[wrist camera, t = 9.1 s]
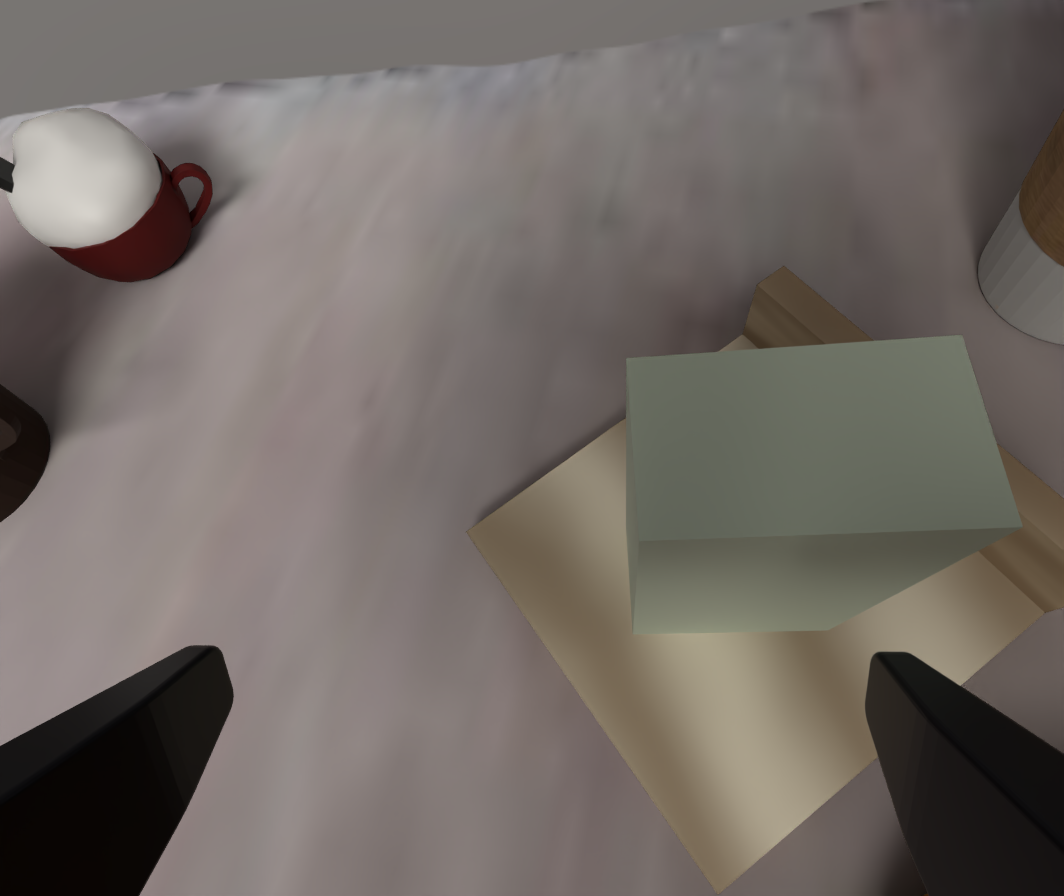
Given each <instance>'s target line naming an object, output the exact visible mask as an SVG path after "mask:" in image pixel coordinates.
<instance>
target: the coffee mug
mask: <svg viewBox="0 0 1064 896" xmlns="http://www.w3.org/2000/svg"><path fill="white" fill-rule="evenodd" d="M49 450H50V435H49V431H48V428H47V424H46V423H45V421H44V419H43V418H42V416H41V415H40V414H39V413H38V412H36V411H35V410H34V409H33V408H32V407H30V406H29V405H28V404H26V403H25V402H24V401H22V400H21V399H19V398H18V397H17V396H15V395H14V394H13V393H11V392H10V391H9V390H7V389H6V388H5V387H3V386H2V385H1V384H0V522H1V521H2V520H4V519H5V518H6V517H8V516H9V515H10V514H12V513H13V512H14V511H15V510H16V509H17V508H18V507H19V506H20V505H21V504H22V503H23V502H24V501H25V500H26V499H27V497H28V496H29V495H30V493H31V492H32V491H33V489H34V488H35V486H36V485H37V483H38V481H39V479H40V478H41V476H42V474H43V471H44V469H45V466H46V463H47V461H48V455H49Z"/></svg>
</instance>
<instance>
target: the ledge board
mask: <svg viewBox="0 0 1064 896" xmlns="http://www.w3.org/2000/svg"><path fill="white" fill-rule="evenodd" d="M866 341H874V340H872V339H871V338H870V337H869V336H868V335H866V334H865V333H864V332H863V331H862V330H860V329H859V328H858V327H857V326H856V325H854V324H853V323H852V322H851V321H850V320H848V319H847V318H846V317H845V316H844V315H842V314H841V313H840V312H839V311H838V310H836V309H835V308H834V307H833V306H832V305H830V304H829V303H828V302H827V301H826V300H824V299H823V298H822V297H821V296H820V295H818V294H817V293H816V292H815V291H814V290H812V289H811V288H810V287H809V286H808V285H806V284H805V283H804V282H803V281H802V280H800V279H799V278H798V277H797V276H796V275H794V274H793V273H792V272H791V271H790V270H788V269H787V268H786V267H785V266H783V267H781V268H780V269H778V270H777V271H776V272H774V273H773V274H771V275H770V276H769V277H767V278H766V279H764V280H763V281H761V282H760V283H759V284H757V287H756V290H755V293H754V297H753V300H752V304H751V307H750V311H749V314H748V317H747V321H746V324H745V328H744V331H743V334H742V335H741V336H739V337H738V338H736V339H735V340H734V341H732V342H731V343H729V344H728V345H727V346H725V347H724V348H722V349H721V350H720V351H718V352H722V351H736V350H751V349H765V348H779V347H794V346H808V345H823V344H837V343H851V342H866ZM996 444H997V443H996ZM997 447H998V450H999V453H1000V456H1001V459H1002V462H1003V466H1004V469H1005V472H1006V475H1007V478H1008V481H1009V485H1010V488H1011V491H1012V494H1013V497H1014V500H1015V503H1016V507H1017V510H1018V513H1019V516H1020V519H1021V522H1022V525H1023V527H1022V528H1020V529H1019V530H1017V531H1015V532H1013V533H1011V534H1009V535H1007V536H1005V537H1003V538H1002V539H1000V540H998V541H996V542H994V543H992V544H990V545H988V546H986V547H985V548H983V549H981V550H979V551H977V552H975V553H973V554H971V555H969V556H968V557H966V558H964V559H962V560H960V561H958V562H956V563H954V564H952V565H951V566H949V567H947V568H945V569H943V570H941V571H939V572H937V573H935V574H934V575H932V576H930V577H928V578H926V579H924V580H922V581H920V582H918V583H917V584H915V585H913V586H911V587H909V588H907V589H905V590H903V591H901V592H900V593H898V594H896V595H894V596H892V597H890V598H888V599H886V600H884V601H883V602H881V603H879V604H877V605H875V606H873V607H871V608H869V609H867V610H866V611H864V612H862V613H860V614H858V615H856V616H854V617H852V618H850V619H849V620H847V621H845V622H843V623H841V624H839V625H837V626H835V627H833V628H832V629H830V630H828V631H778V632H728V633H679V634H633V632H632V616H631V600H630V584H629V568H628V552H627V536H626V418H625V419H623V420H622V421H620V422H619V423H618V424H616V425H615V426H613V427H612V428H611V429H609V430H608V431H606V432H605V433H604V434H602V435H601V436H599V437H598V438H597V439H595V440H594V441H592V442H591V443H590V444H588V445H587V446H585V447H584V448H583V449H581V450H580V451H578V452H577V453H576V454H574V455H573V456H571V457H570V458H569V459H567V460H566V461H564V462H563V463H562V464H560V465H559V466H557V467H556V468H555V469H553V470H552V471H550V472H549V473H548V474H546V475H545V476H543V477H542V478H541V479H539V480H538V481H536V482H535V483H534V484H532V485H531V486H529V487H528V488H527V489H525V490H524V491H522V492H521V493H520V494H518V495H517V496H515V497H514V498H513V499H511V500H510V501H508V502H507V503H506V504H504V505H503V506H501V507H500V508H499V509H497V510H496V511H494V512H493V513H492V514H490V515H489V516H487V517H486V518H485V519H483V520H482V521H480V522H479V523H478V524H476V525H475V526H473V527H472V528H471V529H469V530H468V531H466V533H467V534H468V535H469V537H470V538H471V540H472V541H473V543H474V544H475V546H476V547H477V548H478V550H479V551H480V553H481V554H482V556H483V557H484V558H485V560H486V561H487V563H488V564H489V566H490V567H491V569H492V570H493V571H494V573H495V574H496V576H497V577H498V579H499V580H500V582H501V583H502V584H503V586H504V587H505V589H506V590H507V592H508V593H509V595H510V596H511V597H512V599H513V600H514V602H515V603H516V605H517V606H518V607H519V609H520V610H521V612H522V613H523V615H524V616H525V618H526V619H527V620H528V622H529V623H530V625H531V626H532V628H533V629H534V631H535V632H536V633H537V635H538V636H539V638H540V639H541V641H542V642H543V644H544V645H545V646H546V648H547V649H548V651H549V652H550V654H551V655H552V656H553V658H554V659H555V661H556V662H557V664H558V665H559V667H560V668H561V669H562V671H563V672H564V674H565V675H566V677H567V678H568V680H569V681H570V682H571V684H572V685H573V687H574V688H575V690H576V691H577V693H578V694H579V695H580V697H581V698H582V700H583V701H584V703H585V704H586V705H587V707H588V708H589V710H590V711H591V713H592V714H593V716H594V717H595V718H596V720H597V721H598V723H599V724H600V726H601V727H602V729H603V730H604V731H605V733H606V734H607V736H608V737H609V739H610V740H611V742H612V743H613V744H614V746H615V747H616V749H617V750H618V752H619V753H620V755H621V756H622V757H623V759H624V760H625V762H626V763H627V765H628V766H629V767H630V769H631V770H632V772H633V773H634V775H635V776H636V778H637V779H638V780H639V782H640V783H641V785H642V786H643V788H644V789H645V791H646V792H647V793H648V795H649V796H650V798H651V799H652V801H653V802H654V804H655V805H656V806H657V808H658V809H659V811H660V812H661V814H662V815H663V816H664V818H665V819H666V821H667V822H668V824H669V825H670V827H671V828H672V829H673V831H674V832H675V834H676V835H677V837H678V838H679V840H680V841H681V842H682V844H683V845H684V847H685V848H686V850H687V851H688V853H689V854H690V855H691V857H692V858H693V860H694V861H695V863H696V864H697V865H698V867H699V868H700V870H701V871H702V873H703V874H704V876H705V877H706V878H707V880H708V881H709V883H710V884H711V886H712V887H713V889H714V890H715V891H716V893H717V894H720V893H721V892H722V891H723V890H724V889H725V888H727V887H728V886H729V885H730V884H731V883H732V882H734V881H735V880H736V879H737V878H738V877H739V876H740V875H742V874H743V873H744V872H745V871H746V870H747V869H749V868H750V867H751V866H752V865H753V864H754V863H756V862H757V861H758V860H759V859H760V858H761V857H762V856H764V855H765V854H766V853H767V852H768V851H769V850H771V849H772V848H773V847H774V846H775V845H776V844H778V843H779V842H780V841H781V840H782V839H783V838H785V837H786V836H787V835H788V834H789V833H790V832H791V831H793V830H794V829H795V828H796V827H797V826H798V825H800V824H801V823H802V822H803V821H804V820H805V819H807V818H808V817H809V816H810V815H811V814H812V813H814V812H815V811H816V810H817V809H818V808H819V807H820V806H822V805H823V804H824V803H825V802H826V801H827V800H829V799H830V798H831V797H832V796H833V795H834V794H836V793H837V792H838V791H839V790H840V789H841V788H842V787H844V786H845V785H846V784H847V783H848V782H849V781H851V780H852V779H853V778H854V777H855V776H856V775H858V774H859V773H860V772H861V771H862V770H863V769H865V768H866V767H867V766H868V765H869V764H870V763H871V762H873V761H874V760H875V759H876V758H877V757H878V755H877V752H876V748H875V745H874V742H873V739H872V736H871V733H870V730H869V726H868V723H867V720H866V714H865V696H866V689H867V682H868V674H869V667H870V661H871V658H872V656H873V654H875V653H876V652H879V651H887V652H908V653H910V654H912V655H914V656H916V657H917V658H919V659H920V660H922V661H923V662H925V663H926V664H928V665H929V666H931V667H932V668H934V669H935V670H937V671H939V672H940V673H942V674H943V675H945V676H946V677H948V678H949V679H951V680H952V681H954V682H955V683H957V684H958V685H960V686H961V685H962V684H963V683H964V682H965V681H967V680H968V679H969V678H970V677H971V676H972V675H973V674H975V673H976V672H977V671H978V670H979V669H980V668H982V667H983V666H984V665H985V664H986V663H987V662H989V661H990V660H991V659H992V658H993V657H994V656H996V655H997V654H998V653H999V652H1000V651H1001V650H1002V649H1004V648H1005V647H1006V646H1007V645H1008V644H1009V643H1011V642H1012V641H1013V640H1014V639H1015V638H1016V637H1018V636H1019V635H1020V634H1021V633H1022V632H1023V631H1025V630H1026V629H1027V628H1028V627H1029V626H1030V625H1031V624H1033V623H1034V622H1035V621H1036V620H1037V619H1038V618H1040V617H1041V616H1042V615H1043V614H1044V613H1046V612H1049V611H1053V610H1056V609H1059V608H1063V607H1064V499H1063V498H1062V497H1061V496H1060V495H1059V494H1057V493H1056V492H1055V491H1054V490H1053V489H1051V488H1050V487H1049V486H1048V485H1047V484H1045V483H1044V482H1043V481H1042V480H1041V479H1039V478H1038V477H1037V476H1036V475H1035V474H1033V473H1032V472H1031V471H1030V470H1029V469H1027V468H1026V467H1025V466H1024V465H1023V464H1021V463H1020V462H1019V461H1018V460H1017V459H1015V458H1014V457H1013V456H1012V455H1011V454H1009V453H1008V452H1007V451H1006V450H1005V449H1003V448H1002V447H1001V446H1000V445H999V444H997Z"/></svg>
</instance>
